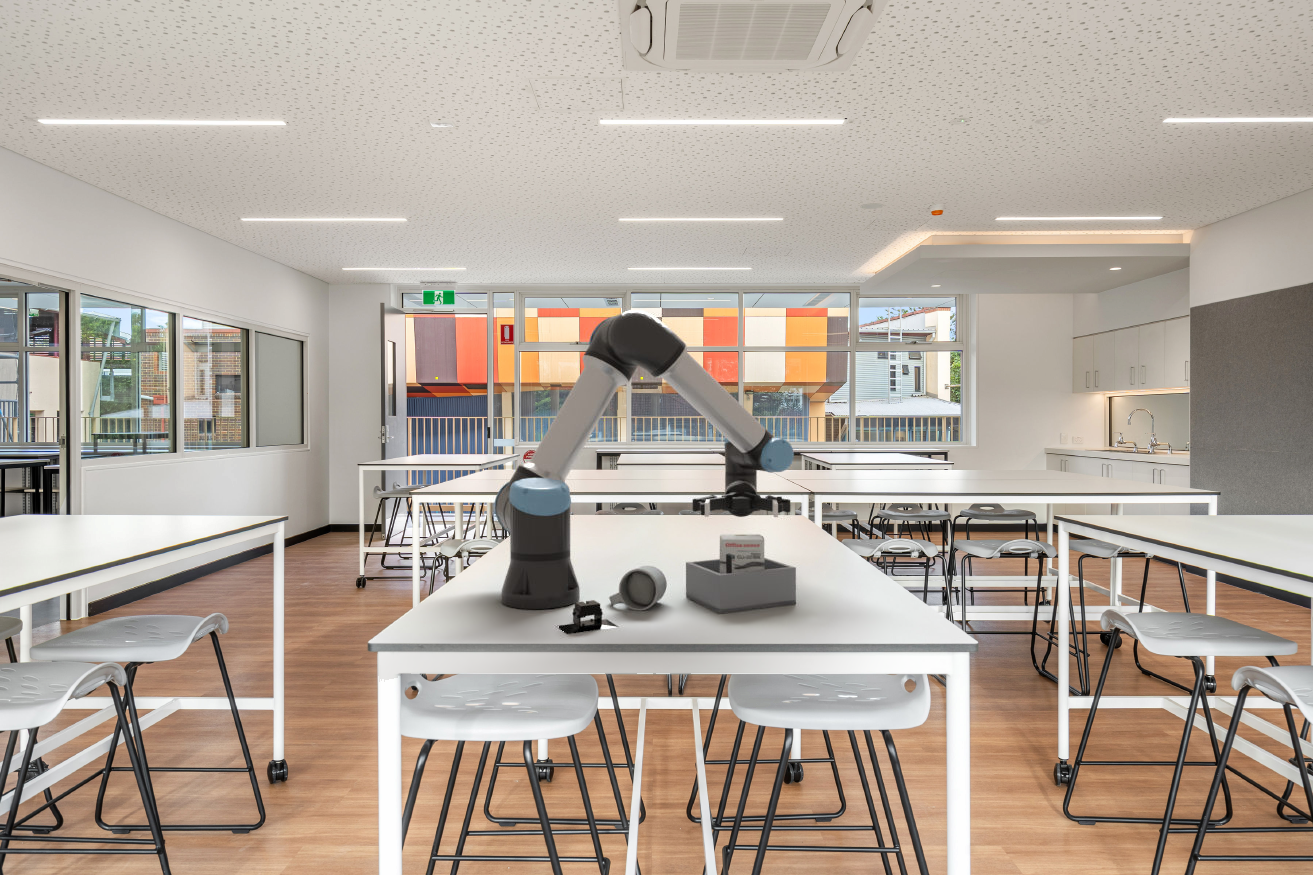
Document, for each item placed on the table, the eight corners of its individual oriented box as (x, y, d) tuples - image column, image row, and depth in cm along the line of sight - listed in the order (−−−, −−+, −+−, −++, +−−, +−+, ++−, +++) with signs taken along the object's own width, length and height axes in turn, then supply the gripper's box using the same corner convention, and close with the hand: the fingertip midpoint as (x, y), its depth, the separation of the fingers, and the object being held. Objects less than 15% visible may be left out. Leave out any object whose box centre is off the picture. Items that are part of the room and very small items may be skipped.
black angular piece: (612, 619, 130) (612, 594, 130) (629, 630, 123) (629, 603, 123) (546, 629, 124) (545, 602, 124) (560, 640, 118) (560, 612, 117)
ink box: (720, 599, 139) (720, 537, 139) (719, 593, 144) (719, 533, 143) (765, 599, 138) (765, 538, 138) (762, 593, 143) (762, 533, 143)
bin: (686, 597, 144) (685, 562, 144) (757, 589, 151) (757, 555, 150) (719, 613, 131) (719, 575, 131) (795, 603, 138) (795, 567, 138)
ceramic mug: (669, 601, 141) (668, 562, 140) (657, 612, 133) (657, 570, 133) (617, 598, 143) (617, 559, 143) (603, 608, 136) (602, 567, 135)
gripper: (796, 515, 163) (805, 529, 142) (686, 514, 166) (678, 528, 145) (796, 482, 163) (805, 491, 141) (685, 481, 165) (678, 490, 144)
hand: (741, 510), depth 143 cm, fingers open, 13 cm apart
